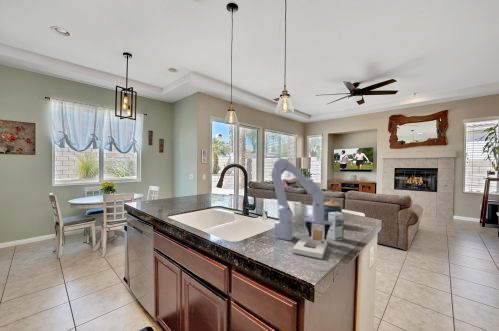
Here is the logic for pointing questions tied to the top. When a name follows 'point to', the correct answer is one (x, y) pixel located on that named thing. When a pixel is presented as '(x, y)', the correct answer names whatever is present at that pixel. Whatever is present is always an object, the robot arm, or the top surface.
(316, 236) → the plug
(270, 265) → the top surface
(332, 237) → the syrup box
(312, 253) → the white cutout panel
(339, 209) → the canister
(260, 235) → the top surface
